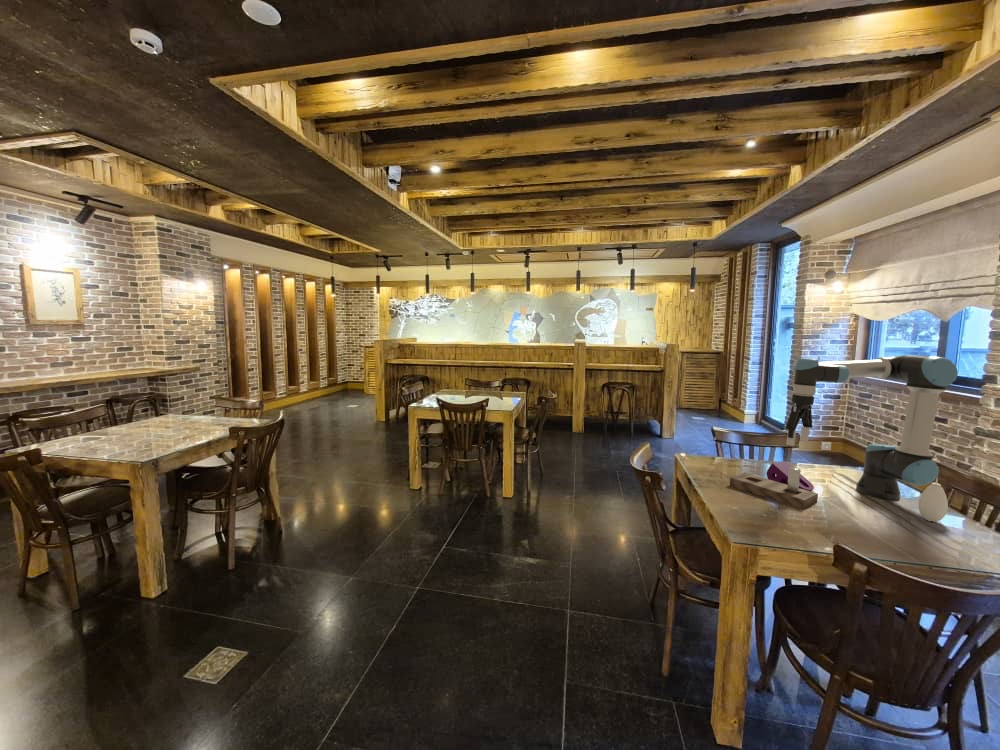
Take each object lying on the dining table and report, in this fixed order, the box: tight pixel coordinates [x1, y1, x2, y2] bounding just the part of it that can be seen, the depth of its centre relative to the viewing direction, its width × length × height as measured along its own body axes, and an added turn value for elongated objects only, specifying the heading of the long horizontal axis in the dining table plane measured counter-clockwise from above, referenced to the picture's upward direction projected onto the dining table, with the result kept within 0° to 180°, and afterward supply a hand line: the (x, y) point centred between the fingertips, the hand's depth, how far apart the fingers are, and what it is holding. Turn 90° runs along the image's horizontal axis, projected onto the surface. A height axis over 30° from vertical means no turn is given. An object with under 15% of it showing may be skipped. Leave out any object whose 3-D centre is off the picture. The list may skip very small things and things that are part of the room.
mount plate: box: [729, 472, 819, 510], centre depth 186 cm, size 30×14×4 cm, turn 34°
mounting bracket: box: [766, 461, 815, 492], centre depth 198 cm, size 9×8×18 cm
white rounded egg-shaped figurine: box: [918, 476, 949, 523], centre depth 162 cm, size 8×8×18 cm
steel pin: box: [786, 466, 802, 495], centre depth 179 cm, size 4×4×14 cm
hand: (797, 443), depth 178 cm, fingers open, 13 cm apart
